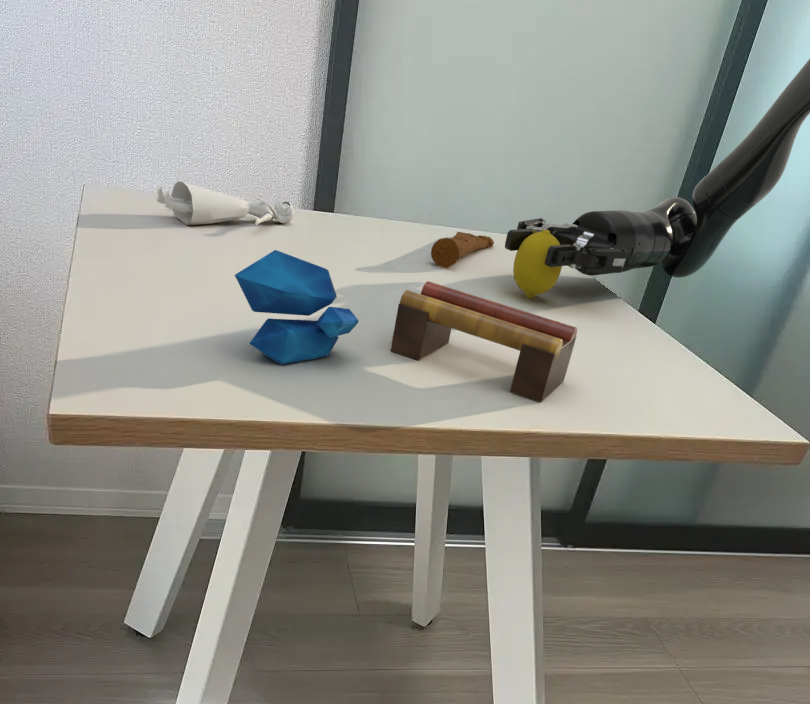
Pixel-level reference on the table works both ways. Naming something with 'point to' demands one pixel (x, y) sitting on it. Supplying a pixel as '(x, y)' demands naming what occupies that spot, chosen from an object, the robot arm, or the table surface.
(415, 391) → the table surface
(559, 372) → the rod rack
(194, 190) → the woman figurine
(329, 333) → the blue crystals
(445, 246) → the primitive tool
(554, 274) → the lemon
